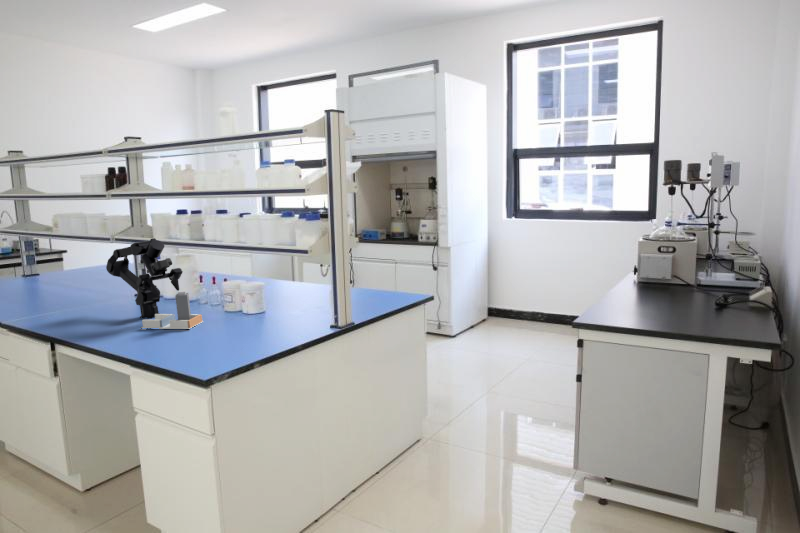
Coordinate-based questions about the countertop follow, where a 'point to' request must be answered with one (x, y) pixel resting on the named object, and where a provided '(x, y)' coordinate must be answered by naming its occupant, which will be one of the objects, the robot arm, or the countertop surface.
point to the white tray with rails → (172, 322)
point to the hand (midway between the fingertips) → (168, 292)
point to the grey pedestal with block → (183, 305)
